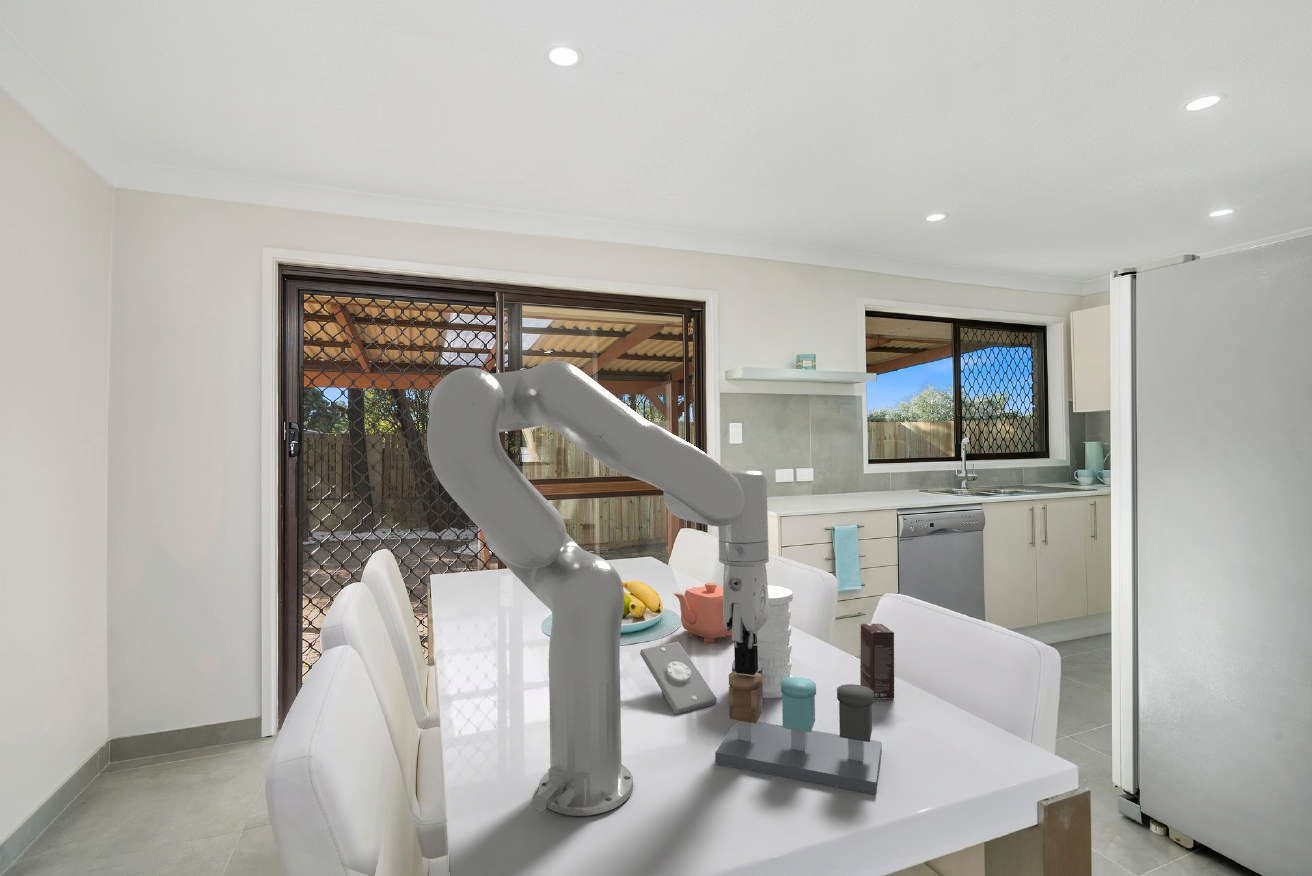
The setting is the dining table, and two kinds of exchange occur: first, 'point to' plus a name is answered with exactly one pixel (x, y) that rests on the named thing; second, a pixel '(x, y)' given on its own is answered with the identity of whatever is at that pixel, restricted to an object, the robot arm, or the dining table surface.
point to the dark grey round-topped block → (855, 711)
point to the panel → (802, 755)
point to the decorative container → (775, 642)
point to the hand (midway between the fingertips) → (746, 671)
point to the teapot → (703, 612)
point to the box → (877, 660)
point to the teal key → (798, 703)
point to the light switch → (678, 677)
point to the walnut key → (745, 697)
